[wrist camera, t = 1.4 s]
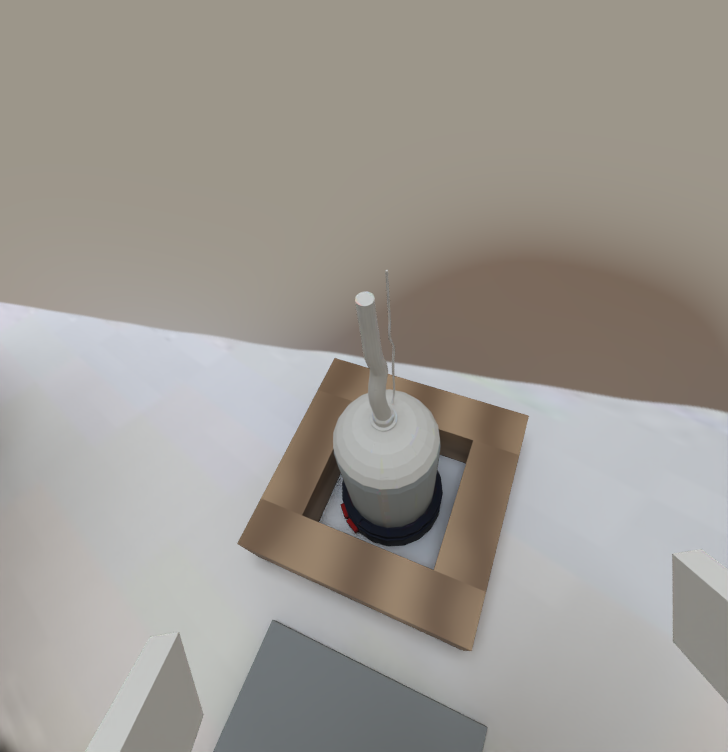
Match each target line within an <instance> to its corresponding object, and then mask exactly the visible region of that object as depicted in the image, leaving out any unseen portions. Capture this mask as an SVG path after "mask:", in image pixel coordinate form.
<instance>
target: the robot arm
mask: <svg viewBox="0 0 728 752" xmlns="http://www.w3.org/2000/svg"><path fill="white" fill-rule="evenodd" d="M672 561H673V642H674V643H675V644H676V646H677V647H678V648H679V649H680V650H681V651H682V652H683V653H684V655H685V656H686V657H687V658H688V659H689V660H690V661H691V662H692V664H693V665H694V666H695V667H696V668H697V669H698V670H699V671H700V673H701V674H702V675H703V676H704V677H705V678H706V679H707V680H708V682H709V683H710V684H711V685H712V686H713V687H714V688H715V689H716V691H717V692H718V693H719V694H720V695H721V696H722V697H723V698H724V700H725V701H726V702H727V703H728V569H727V568H725V567H724V566H723V565H721V564H720V563H719V562H717V561H716V560H715V559H714V558H712V557H711V556H710V555H708V554H707V553H706V552H704V551H703V550H702V549H700V550H694V551H687V552H681V553H675V554H672ZM202 718H203V711H202V708H201V704H200V701H199V698H198V694H197V691H196V688H195V684H194V681H193V678H192V674H191V671H190V668H189V664H188V661H187V658H186V654H185V651H184V648H183V644H182V641H181V637H180V634H179V632H175V633H169V634H162V635H156V636H150V638H149V640H148V641H147V643H146V645H145V647H144V648H143V650H142V652H141V654H140V655H139V657H138V659H137V661H136V663H135V664H134V666H133V668H132V670H131V671H130V673H129V675H128V677H127V678H126V680H125V682H124V684H123V685H122V687H121V689H120V691H119V693H118V694H117V696H116V698H115V700H114V701H113V703H112V705H111V707H110V708H109V710H108V712H107V714H106V716H105V717H104V719H103V721H102V723H101V724H100V726H99V728H98V730H97V731H96V733H95V735H94V737H93V739H92V740H91V742H90V744H89V746H88V747H87V749H86V751H85V752H191V751H192V748H193V745H194V742H195V739H196V736H197V733H198V730H199V727H200V724H201V721H202Z"/></svg>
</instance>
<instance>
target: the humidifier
mask: <svg viewBox="0 0 728 752" xmlns="http://www.w3.org/2000/svg"><path fill="white" fill-rule="evenodd" d="M386 287H387V304H388V318H389V325H388V335H389V340H390V343H391V345H392V347H393V355H392V378H393V390H391V389H388V390H386V383H387V377H388V368H387V363H386V361H385V359H384V357H383V354H382V349H381V343H380V336H379V329H378V322H377V316H376V308H375V300H374V296H373V294H372V293H370V292H361V293H359V294H358V295H357V296H356V298H355V301H356V309H357V316H358V323H359V328H360V334H361V340H362V348H363V354H364V358H365V361H366V363H367V366H368V368H369V369H370V376H369V383H368V393H367V394H364V395H361V396H360V397H358V398H357V399H356V400H354V401H353V402H352V403H350V404H349V405H348V406H347V408H346V409H345V410H344V411H343V413H342V414H341V415H340V417H339V418H338V421H337V424H336V426H335V429H334V432H333V449H334V455H335V458H336V461H337V464H338V467H339V470H340V472H341V475H342V477H343V483H342V499H343V502H344V503H343V504H341V508H342V511H343V514H344V517H345V519H347V518H349V519H348V520H347V523H348V524H349V526H350V527H351V528H352V530H353V531H354V532H355V533H357V532H358V531H359V532H360V533H361V534H362V535H364V536H365V537H367V538H368V539H369V540H371V541H372V542H375V543H379V544H382V545H386V546H401V545H406V544H408V543H411V542H413V541H416V540H418V539H420V538H421V537H422V536H423V535H424V534H425V533H427V532H428V531H429V530H430V529H431V527H432V525H433V524H434V522H435V520H436V518H437V517H438V514H439V509H440V504H441V499H442V494H443V492H442V484H441V477H440V474H439V472H438V470H437V467H438V461H439V454H440V447H441V445H440V437H439V430H438V425H437V423H436V421H435V419H434V417H433V415H432V413H431V411H430V410H429V409H428V408H427V407H426V406H425V405H424V404H423V403H422V402H421V401H419V400H418V399H416V398H414V397H412V396H410V395H408V394H407V393H405V392H400V391H396V390H395V376H394V357H395V346H394V344H393V342H392V340H391V333H390V329H391V318H390V300H389V283H388V270H386Z"/></svg>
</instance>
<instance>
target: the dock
mask: <svg viewBox="0 0 728 752" xmlns="http://www.w3.org/2000/svg"><path fill="white" fill-rule="evenodd" d="M369 376H370V369H369V368H366V367H363V366H360V365H356V364H353V363H350V362H346V361H343V360H339V359H336V358H334V360H333V362H332V364H331V366H330V368H329V370H328V372H327V374H326V376H325V378H324V379H323V381H322V383H321V385H320V387H319V389H318V391H317V393H316V395H315V397H314V398H313V400H312V402H311V404H310V406H309V408H308V410H307V412H306V414H305V416H304V418H303V419H302V421H301V423H300V425H299V427H298V429H297V431H296V433H295V435H294V437H293V438H292V440H291V442H290V444H289V446H288V448H287V450H286V452H285V454H284V456H283V458H282V459H281V461H280V463H279V465H278V467H277V469H276V471H275V473H274V475H273V477H272V478H271V480H270V482H269V484H268V486H267V488H266V490H265V492H264V494H263V496H262V497H261V499H260V501H259V503H258V505H257V507H256V509H255V511H254V513H253V515H252V517H251V518H250V520H249V522H248V524H247V526H246V528H245V530H244V532H243V534H242V536H241V537H240V539H239V541H238V543H237V544H238V545H240V546H242V547H243V548H245V549H247V550H248V551H250V552H252V553H253V554H255V555H257V556H258V557H261V558H263V559H265V560H267V561H269V562H271V563H274V564H276V565H278V566H280V567H282V568H284V569H287V570H289V571H291V572H293V573H295V574H298V575H300V576H302V577H304V578H306V579H308V580H311V581H313V582H315V583H317V584H319V585H321V586H324V587H326V588H328V589H330V590H332V591H335V592H337V593H339V594H341V595H343V596H345V597H348V598H350V599H352V600H354V601H356V602H358V603H361V604H363V605H365V606H367V607H369V608H371V609H374V610H376V611H378V612H380V613H382V614H385V615H387V616H389V617H391V618H393V619H395V620H398V621H400V622H402V623H404V624H406V625H408V626H411V627H413V628H415V629H417V630H419V631H422V632H424V633H426V634H428V635H430V636H432V637H435V638H437V639H439V640H441V641H443V642H445V643H448V644H450V645H452V646H454V647H456V648H459V649H461V650H463V651H472V647H473V643H474V639H475V635H476V631H477V626H478V622H479V618H480V614H481V610H482V606H483V602H484V598H485V594H486V589H487V585H488V581H489V577H490V573H491V569H492V565H493V561H494V557H495V553H496V548H497V544H498V540H499V536H500V532H501V528H502V524H503V520H504V516H505V512H506V507H507V503H508V499H509V495H510V491H511V487H512V483H513V479H514V475H515V471H516V466H517V462H518V458H519V454H520V450H521V446H522V442H523V438H524V434H525V429H526V425H527V421H528V417H529V416H528V415H524V414H521V413H518V412H514V411H511V410H508V409H504V408H501V407H497V406H494V405H491V404H487V403H484V402H481V401H477V400H474V399H471V398H467V397H464V396H460V395H457V394H454V393H450V392H447V391H444V390H440V389H437V388H434V387H430V386H427V385H424V384H420V383H417V382H413V381H410V380H407V379H403V378H400V377H397V376H395V390H396V391H400V392H405V393H407V394H408V395H410V396H412V397H414V398H416V399H418V400H419V401H421V402H422V403H423V404H424V405H425V406H426V407H427V408H428V409H429V410H430V411H431V413H432V415H433V417H434V419H435V421H436V423H437V425H438V430H439V437H440V445H441V447H440V455H443V456H446V457H449V458H452V459H455V460H458V461H461V462H464V463H466V466H465V469H464V472H463V476H462V479H461V482H460V486H459V489H458V492H457V495H456V499H455V502H454V505H453V509H452V512H451V515H450V518H449V522H448V525H447V528H446V532H445V535H444V538H443V541H442V545H441V548H440V551H439V555H438V558H437V561H436V565H435V568H434V570H432V569H430V568H427V567H425V566H423V565H420V564H418V563H415V562H413V561H411V560H408V559H406V558H403V557H401V556H398V555H396V554H394V553H391V552H389V551H386V550H384V549H382V548H379V547H377V546H374V545H372V544H370V543H367V542H365V541H362V540H360V539H358V538H355V537H353V536H350V535H348V534H346V533H343V532H341V531H338V530H336V529H334V528H331V527H329V526H326V525H324V524H322V523H319V520H320V518H321V516H322V513H323V511H324V509H325V507H326V505H327V502H328V500H329V498H330V496H331V493H332V491H333V489H334V487H335V484H336V482H337V480H338V478H339V475H340V473H341V472H340V470H339V467H338V464H337V461H336V458H335V455H334V449H333V432H334V429H335V426H336V424H337V421H338V418H339V417H340V415H341V414H342V413H343V411H344V410H345V409H346V408H347V406H348V405H349V404H350V403H352V402H353V401H354V400H356V399H357V398H358V397H360V396H361V395H364V394H367V393H368V383H369ZM388 389H391V390H393V378H392V375H390V374H388V377H387V383H386V390H388Z"/></svg>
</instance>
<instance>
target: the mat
mask: <svg viewBox="0 0 728 752" xmlns="http://www.w3.org/2000/svg"><path fill="white" fill-rule="evenodd" d="M486 732H487V727H486V726H484V725H482V724H480V723H478V722H476V721H474V720H472V719H470V718H468V717H466V716H464V715H462V714H460V713H458V712H456V711H454V710H452V709H450V708H448V707H446V706H444V705H442V704H440V703H438V702H436V701H434V700H432V699H430V698H428V697H426V696H424V695H422V694H420V693H418V692H416V691H414V690H412V689H410V688H408V687H406V686H404V685H402V684H400V683H398V682H396V681H394V680H392V679H390V678H388V677H386V676H384V675H382V674H380V673H378V672H376V671H374V670H372V669H370V668H368V667H366V666H364V665H362V664H360V663H358V662H356V661H354V660H352V659H351V658H349V657H347V656H345V655H343V654H341V653H339V652H337V651H335V650H333V649H331V648H329V647H327V646H325V645H323V644H321V643H319V642H317V641H315V640H313V639H311V638H309V637H307V636H305V635H303V634H301V633H299V632H297V631H295V630H293V629H291V628H289V627H287V626H285V625H283V624H281V623H279V622H277V621H275V620H272V622H271V624H270V627H269V629H268V631H267V633H266V636H265V638H264V640H263V642H262V644H261V647H260V649H259V651H258V653H257V656H256V658H255V660H254V662H253V664H252V667H251V669H250V671H249V673H248V676H247V678H246V680H245V682H244V684H243V687H242V689H241V691H240V693H239V696H238V698H237V700H236V702H235V704H234V707H233V709H232V711H231V713H230V716H229V718H228V720H227V722H226V724H225V727H224V729H223V731H222V733H221V736H220V738H219V740H218V742H217V744H216V747H215V749H214V751H213V752H482V750H483V746H484V741H485V736H486Z"/></svg>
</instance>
